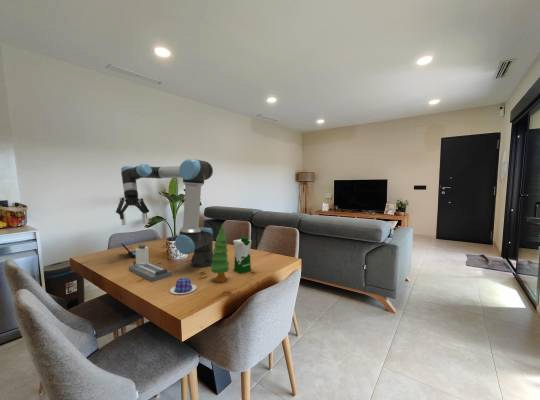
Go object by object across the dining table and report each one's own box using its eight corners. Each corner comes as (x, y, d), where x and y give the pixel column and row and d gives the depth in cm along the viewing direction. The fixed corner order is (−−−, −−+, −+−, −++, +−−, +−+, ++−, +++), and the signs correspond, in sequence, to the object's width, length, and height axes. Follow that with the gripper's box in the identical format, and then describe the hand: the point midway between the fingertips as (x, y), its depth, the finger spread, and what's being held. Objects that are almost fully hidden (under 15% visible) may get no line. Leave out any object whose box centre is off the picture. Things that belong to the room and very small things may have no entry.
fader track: (129, 270, 144) (128, 262, 144) (147, 265, 153) (147, 258, 153) (152, 281, 127) (151, 273, 127) (171, 275, 136) (171, 268, 135)
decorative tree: (232, 279, 130) (232, 223, 128) (218, 285, 123) (217, 225, 121) (221, 275, 136) (220, 221, 135) (206, 280, 129) (206, 223, 128)
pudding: (199, 285, 124) (199, 274, 124) (192, 295, 112) (192, 284, 112) (175, 285, 124) (174, 275, 123) (165, 296, 112) (165, 284, 111)
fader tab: (135, 265, 145) (134, 245, 144) (145, 263, 149) (145, 243, 149) (139, 267, 142) (138, 246, 141) (149, 264, 146) (149, 245, 146)
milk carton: (241, 274, 138) (241, 239, 137) (231, 270, 144) (231, 236, 143) (253, 270, 144) (253, 237, 143) (243, 267, 151) (243, 234, 149)
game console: (147, 256, 174) (147, 243, 173) (125, 260, 165) (124, 246, 164) (142, 251, 186) (141, 239, 185) (121, 254, 177) (120, 242, 176)
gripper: (144, 193, 167) (149, 224, 164) (106, 191, 145) (110, 226, 141) (152, 190, 164) (156, 221, 160) (113, 187, 141) (118, 223, 138)
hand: (135, 224), depth 151 cm, fingers open, 13 cm apart
